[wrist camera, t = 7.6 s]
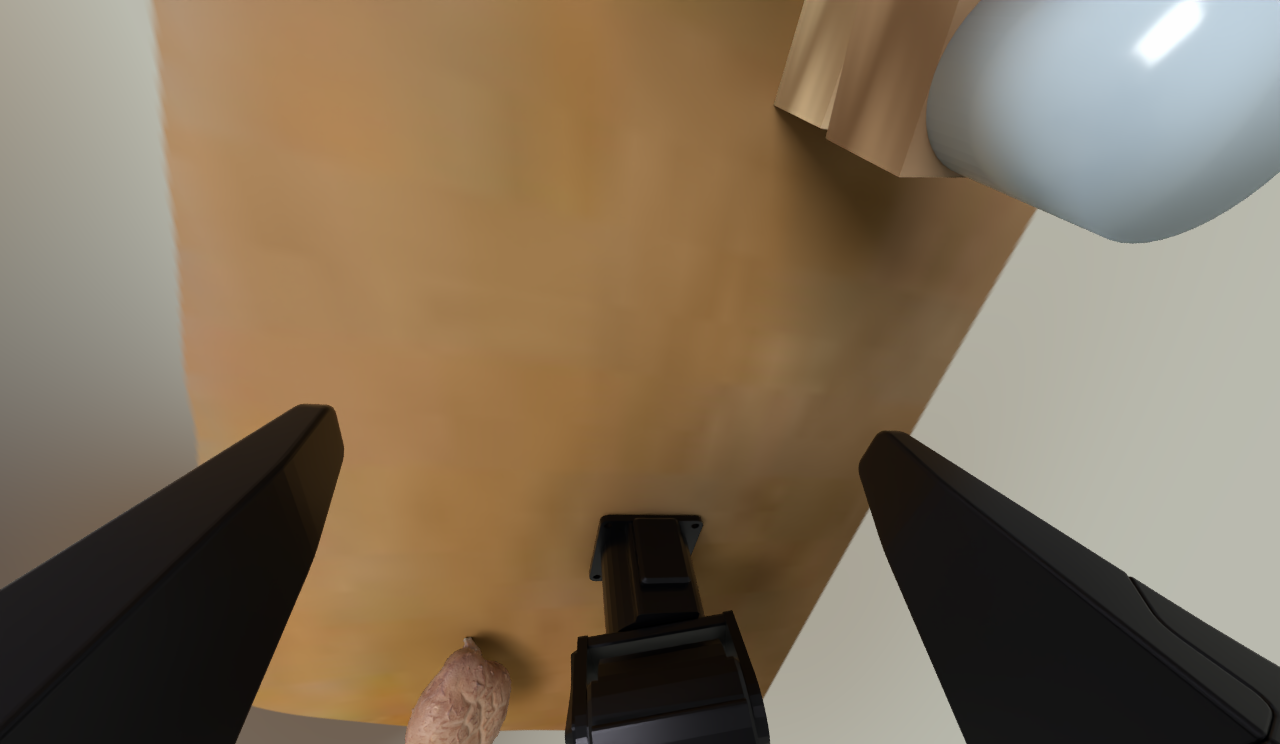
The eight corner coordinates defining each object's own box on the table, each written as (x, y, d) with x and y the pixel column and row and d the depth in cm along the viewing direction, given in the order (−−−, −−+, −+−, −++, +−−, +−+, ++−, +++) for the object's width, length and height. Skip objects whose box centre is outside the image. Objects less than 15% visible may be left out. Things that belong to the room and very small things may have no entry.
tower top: (949, 140, 15) (1053, 177, 12) (825, 138, 14) (899, 177, 11) (1014, -29, 13) (1165, -39, 9) (867, -38, 12) (976, -52, 9)
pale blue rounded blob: (1035, 188, 12) (1207, 256, 9) (893, 162, 11) (1025, 227, 8) (1167, -18, 10) (1461, -27, 6) (998, -70, 9) (1242, -110, 6)
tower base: (872, 123, 18) (937, 150, 15) (773, 105, 17) (820, 128, 14) (927, -11, 16) (1017, -13, 13) (816, -40, 15) (883, -50, 12)
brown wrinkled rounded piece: (422, 616, 34) (391, 756, 28) (513, 612, 35) (503, 745, 29) (433, 666, 39) (409, 796, 32) (514, 660, 40) (505, 785, 33)
